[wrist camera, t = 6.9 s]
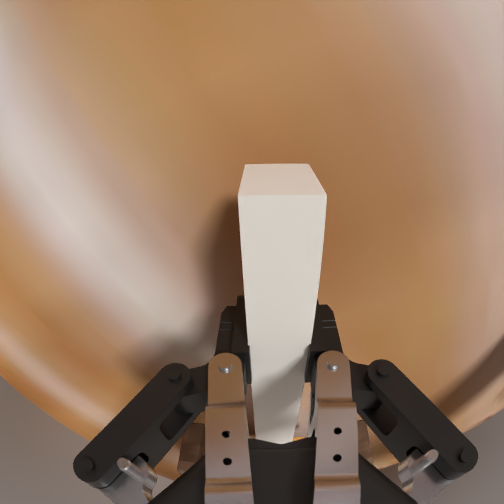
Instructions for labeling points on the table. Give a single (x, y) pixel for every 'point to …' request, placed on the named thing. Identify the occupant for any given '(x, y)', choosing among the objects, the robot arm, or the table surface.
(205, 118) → the table surface
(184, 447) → the low walnut stand
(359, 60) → the table surface
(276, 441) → the long white slat
